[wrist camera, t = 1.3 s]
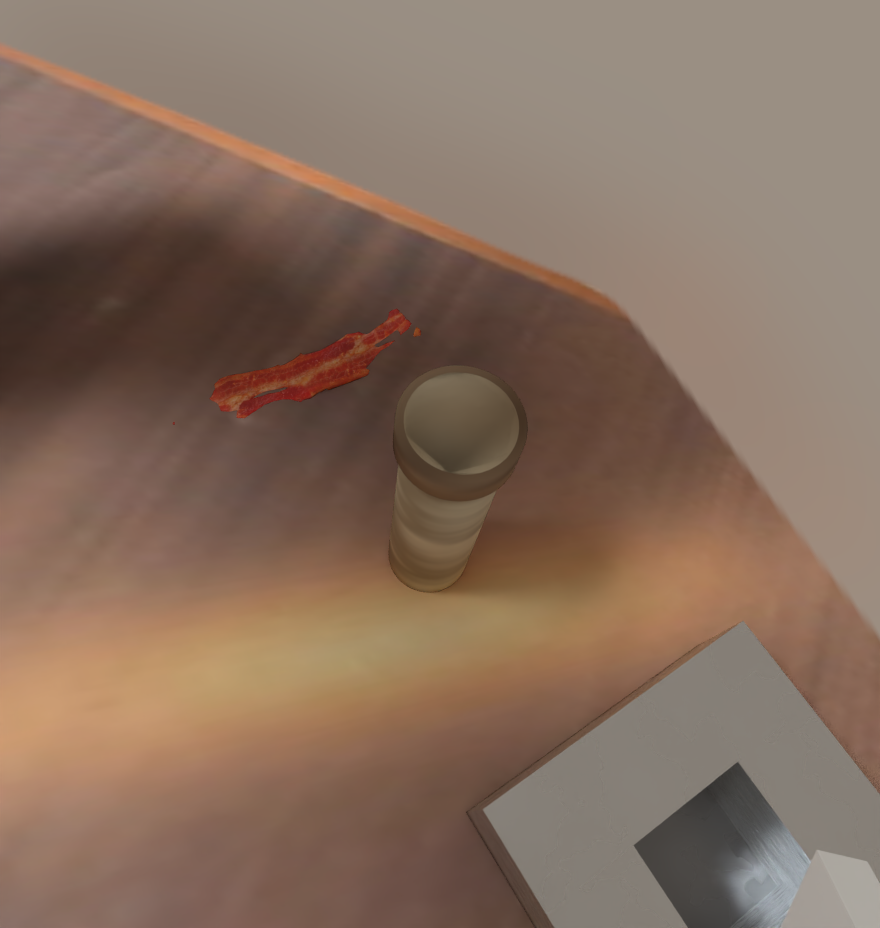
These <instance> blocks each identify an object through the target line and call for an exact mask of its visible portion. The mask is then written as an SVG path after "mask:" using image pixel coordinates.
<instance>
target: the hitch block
mask: <svg viewBox="0 0 880 928" xmlns="http://www.w3.org/2000/svg"><path fill="white" fill-rule="evenodd" d="M466 813H467V815H468V816H469V818H470V820H471V821H472V823H473V825H474V826H475V828H476V830H477V831H478V833H479V835H480V836H481V838H482V840H483V841H484V843H485V845H486V846H487V848H488V850H489V851H490V853H491V855H492V856H493V858H494V860H495V861H496V863H497V865H498V866H499V868H500V870H501V871H502V873H503V875H504V876H505V878H506V880H507V881H508V883H509V885H510V886H511V888H512V890H513V891H514V893H515V895H516V897H517V898H518V900H519V902H520V903H521V905H522V907H523V908H524V910H525V912H526V913H527V915H528V917H529V918H530V920H531V922H532V923H533V925H534V927H535V928H780V927H781V925H782V923H783V921H784V919H785V917H786V915H787V912H788V910H789V908H790V906H791V904H792V902H793V899H794V897H795V895H796V893H797V891H798V889H799V887H800V884H801V882H802V880H803V878H804V876H805V874H806V872H807V869H808V867H809V865H810V863H811V861H812V859H813V857H814V854H815V852H816V850H820V851H825V852H829V853H833V854H837V855H842V856H846V857H850V858H855V859H859V860H863V861H867V862H868V864H869V865H870V867H871V869H872V871H873V872H874V874H875V876H876V878H877V879H878V881H879V883H880V794H879V793H878V792H877V790H876V789H875V788H874V787H873V785H872V784H871V783H870V781H869V780H868V779H867V778H866V776H865V775H864V774H863V773H862V771H861V770H860V769H859V767H858V766H857V765H856V764H855V762H854V761H853V760H852V759H851V757H850V756H849V755H848V753H847V752H846V751H845V750H844V748H843V747H842V746H841V745H840V743H839V742H838V741H837V740H836V738H835V737H834V736H833V734H832V733H831V732H830V731H829V729H828V728H827V727H826V726H825V724H824V723H823V722H822V720H821V719H820V718H819V717H818V715H817V714H816V713H815V712H814V710H813V709H812V708H811V706H810V705H809V704H808V703H807V701H806V700H805V699H804V698H803V696H802V695H801V694H800V692H799V691H798V690H797V689H796V687H795V686H794V685H793V684H792V682H791V681H790V680H789V678H788V677H787V676H786V675H785V673H784V672H783V671H782V670H781V668H780V667H779V666H778V664H777V663H776V662H775V661H774V659H773V658H772V657H771V656H770V654H769V653H768V652H767V650H766V649H765V648H764V647H763V645H762V644H761V643H760V642H759V640H758V639H757V638H756V636H755V635H754V634H753V633H752V631H751V630H750V629H749V628H748V626H747V625H746V624H745V622H744V621H742V622H740V623H738V624H736V625H734V626H733V627H731V628H729V629H727V630H725V631H723V632H722V633H720V634H718V635H716V636H714V637H712V638H711V639H709V640H707V641H705V642H703V643H701V644H700V645H698V646H696V647H695V648H694V649H692V650H691V651H689V652H688V653H687V654H685V655H684V656H682V657H681V658H680V659H678V660H677V661H676V662H674V663H673V664H671V665H670V666H669V667H667V668H666V669H664V670H663V671H662V672H660V673H659V674H657V675H656V676H655V677H653V678H652V679H651V680H649V681H648V682H646V683H645V684H644V685H642V686H641V687H639V688H638V689H637V690H635V691H634V692H632V693H631V694H630V695H628V696H627V697H626V698H624V699H623V700H621V701H620V702H619V703H617V704H616V705H614V706H613V707H612V708H610V709H609V710H607V711H606V712H605V713H603V714H602V715H601V716H599V717H598V718H596V719H595V720H594V721H592V722H591V723H589V724H588V725H587V726H585V727H584V728H582V729H581V730H580V731H578V732H577V733H576V734H574V735H573V736H571V737H570V738H569V739H567V740H566V741H564V742H563V743H562V744H560V745H559V746H557V747H556V748H555V749H553V750H552V751H551V752H549V753H548V754H546V755H545V756H544V757H542V758H541V759H539V760H538V761H537V762H535V763H534V764H532V765H531V766H530V767H528V768H527V769H526V770H524V771H523V772H521V773H520V774H519V775H517V776H516V777H514V778H513V779H512V780H510V781H509V782H507V783H506V784H505V785H503V786H502V787H501V788H499V789H498V790H496V791H495V792H494V793H492V794H491V795H489V796H488V797H487V798H485V799H484V800H482V801H481V802H480V803H478V804H477V805H476V806H474V807H473V808H471V809H470V810H469V811H467V812H466Z"/></svg>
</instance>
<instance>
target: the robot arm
mask: <svg viewBox="0 0 880 928" xmlns="http://www.w3.org/2000/svg"><path fill="white" fill-rule="evenodd" d="M780 928H880V883H879V881H878V879H877V878H876V876H875V874H874V872H873V871H872V869H871V867H870V865H869V864H868V862H867V861H863V860H859V859H855V858H850V857H846V856H842V855H837V854H833V853H829V852H825V851H820V850H816V852H815V854H814V857H813V859H812V861H811V863H810V865H809V867H808V869H807V872H806V874H805V876H804V878H803V880H802V882H801V884H800V887H799V889H798V891H797V893H796V895H795V897H794V899H793V902H792V904H791V906H790V908H789V910H788V912H787V915H786V917H785V919H784V921H783V923H782V925H781V927H780Z"/></svg>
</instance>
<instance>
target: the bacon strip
mask: <svg viewBox="0 0 880 928" xmlns="http://www.w3.org/2000/svg"><path fill="white" fill-rule="evenodd" d="M410 325H411V322H410V321H409V320H405V317H404V315H403V314H402V313H399V310H398V309H395V310H392V311H390V312H389V316H388V319H387V320H386V321H385V322H384V323H382V324H381V325H380V326H378V327H377V328H375V329H374V330H373V331H371V332H370V333H369V334H362V333H360V332H357V333H352V334H346V335H345V336H344V337H343V338H341V339H340V340H338V341H337V342H335V343H333V344H331V345H329V346H327V347H326V348H324V349H322V350H320V351H316V352H313V353H309V354H305V355H303V354H301V353H300V355H299V356H298V357H296V358H295V359H293V360H292V361H290V362H288V363H286V364H284V365H281V366H280V365H277V366H275V367H272V368H268V369H263V370H257V371H252V372H248V373H242V374H234V375H229V376H226V377H223V378H221V379H219V380H218V381H217V382H216V383H215V384H214V385H215V390H214V392H213V394H212V396H211V397H210V400H212V401H214V402H216V403H217V404H218V405H219V407H220V409H221V411H226V412H230V411H235V410H237V418H246V417H247V416H249V415H250V414H251V413H253V412H254V411H256V410H257V409H259V408H260V407H262V406H263V405H265V404H268V403H270V402H273V401H277V400H282V399H292V400H294V401H299V402H301V401H302V400H305V399H310V398H312V397H313V396H314V395H316V394H317V393H318V392H322V391H323V390H325V389H328V390H330V389H332V388H335V387H338V386H341V385H343V384H346V383H349V382H351V381H354V380H357V379H359V378H362V377H364V376H367V375H368V374H369V371H370V370H368V369H366V367H367V366H368V365H369V364H370V363H371V362H372V361H373V360H374V358H375V356H376V355H377V354H378V353H379V352H380V351H381V350H383V349H384V348H386V347H388V346H389V345H391V344H392V343H393V342H394V341H392V342H389V343H386V344H384V345H382V346H380V347H376V346H375V344H377V343H378V342H380V341H382V340H383V339H385V338H386V337H388V336H389V335H390V334H392V333H393V332H394V331H396V330H398V331H399V333H400V335H401V334H402V333H404V332H405V331H406V330H408V329H409V327H410ZM413 335H414V337H416V336H419V335H421V330H420V329H419V328H417V327H416V329H415V331H414V334H413ZM284 387H288V388H287V389H285V390H282V391H280V392H276V393H270V394H267V395H264V396H261V397H257V398H253V397H255V396H256V395H258V394H260V393H263V392H266V391H269V390H275V389H280V388H284ZM174 424H175V422H174V423H173V425H174Z"/></svg>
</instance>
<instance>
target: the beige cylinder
mask: <svg viewBox="0 0 880 928" xmlns="http://www.w3.org/2000/svg"><path fill="white" fill-rule="evenodd" d="M527 431H528V426H527V417H526V413H525V410H524V407H523V405H522V403H521V401H520V399H519V398H518V396H517V395H516V393H515V392H514V391H513V390H512V389H511V388H510V387H509V386H508V385H507V384H506V383H505V382H504V381H502V380H501V379H500V378H498V377H497V376H495V375H493V374H491V373H489V372H487V371H485V370H482V369H479V368H475V367H470V366H462V365H452V366H444V367H439V368H436V369H433V370H430V371H428V372H426V373H424V374H422V375H420V376H419V377H418V378H416V379H415V380H414V381H412V383H411V384H410V385H409V386H408V387H407V388H406V389H405V391H404V392H403V394H402V395H401V397H400V399H399V402H398V405H397V408H396V413H395V422H394V433H393V449H394V454H395V458H396V460H397V463H398V472H397V481H396V490H395V499H394V507H393V516H392V525H391V534H390V543H389V554H388V555H389V562H390V565H391V568H392V570H393V572H394V574H395V575H396V576H397V578H398V579H399V580H400V581H401V582H402V583H404V584H405V585H406V586H408V587H410V588H412V589H414V590H417V591H422V592H436V591H440V590H443V589H446V588H447V587H449V586H451V585H452V584H454V583H455V582H456V581H457V580H458V579H459V577H460V576H461V575H462V573H463V571H464V569H465V566H466V564H467V561H468V559H469V557H470V554H471V552H472V549H473V547H474V544H475V542H476V539H477V537H478V535H479V532H480V530H481V527H482V525H483V522H484V520H485V518H486V515H487V513H488V510H489V508H490V505H491V503H492V500H493V498H494V496H495V493H496V491H497V490H498V489H499V488H500V487H501V486H502V485H503V484H504V483H505V482H506V481H507V480H508V479H509V477H510V476H511V474H512V473H513V471H514V469H515V466H516V464H517V462H518V459H519V457H520V455H521V452H522V450H523V448H524V446H525V442H526V438H527Z"/></svg>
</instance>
